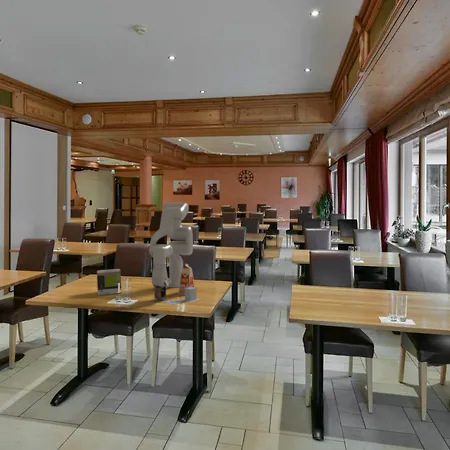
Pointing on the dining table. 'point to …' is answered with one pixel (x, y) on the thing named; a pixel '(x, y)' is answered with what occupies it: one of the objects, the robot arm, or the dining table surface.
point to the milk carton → (186, 279)
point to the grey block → (190, 293)
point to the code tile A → (174, 301)
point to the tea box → (108, 281)
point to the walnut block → (158, 293)
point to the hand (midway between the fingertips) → (160, 295)
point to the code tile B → (190, 301)
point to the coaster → (160, 300)
